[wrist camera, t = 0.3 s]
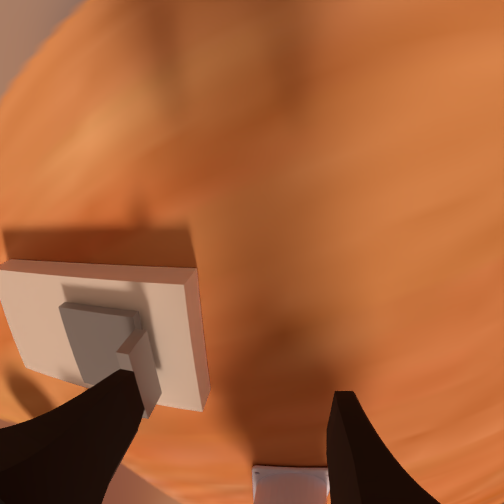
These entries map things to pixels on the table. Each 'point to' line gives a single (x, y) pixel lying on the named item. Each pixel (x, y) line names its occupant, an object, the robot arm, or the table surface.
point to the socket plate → (113, 296)
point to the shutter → (111, 347)
